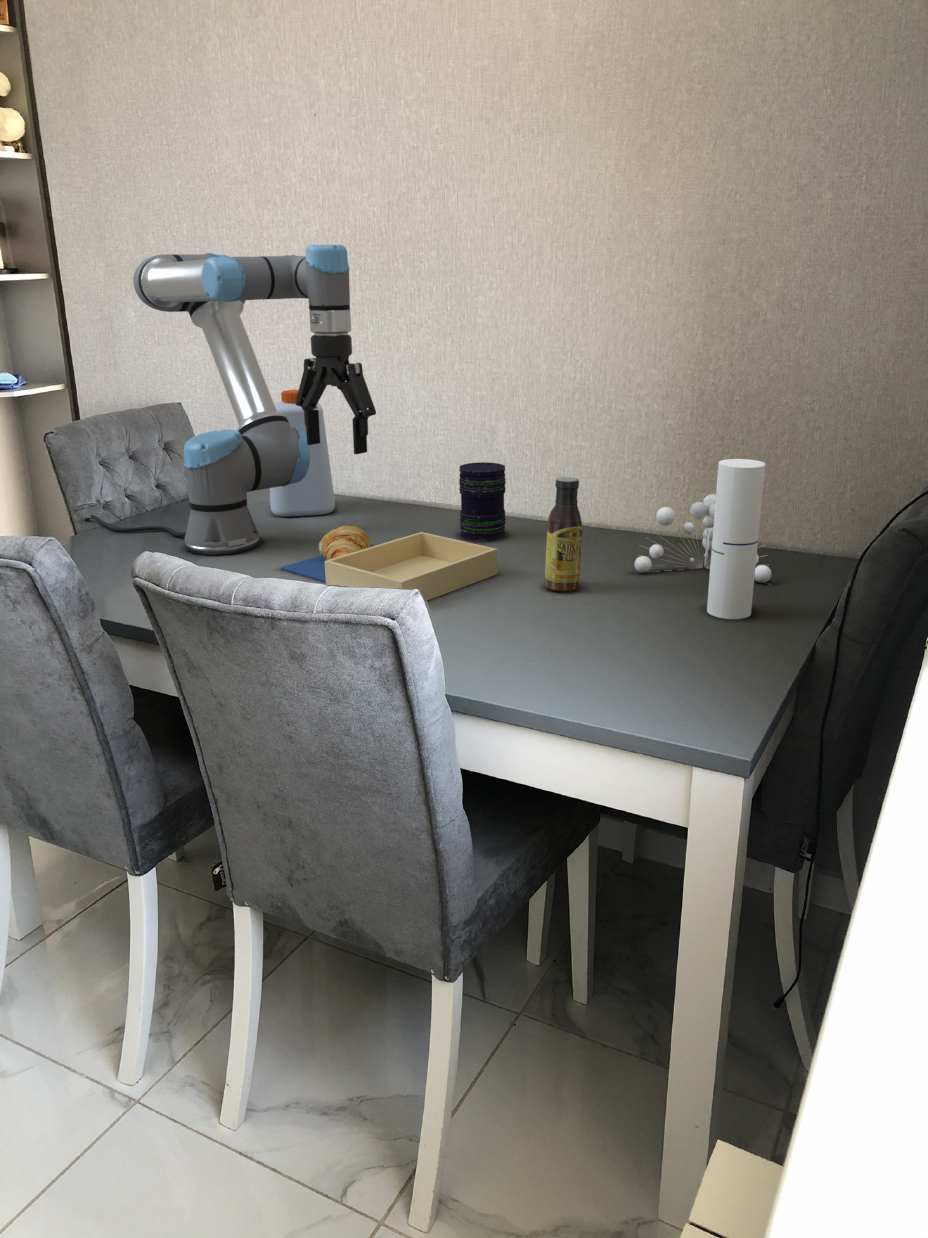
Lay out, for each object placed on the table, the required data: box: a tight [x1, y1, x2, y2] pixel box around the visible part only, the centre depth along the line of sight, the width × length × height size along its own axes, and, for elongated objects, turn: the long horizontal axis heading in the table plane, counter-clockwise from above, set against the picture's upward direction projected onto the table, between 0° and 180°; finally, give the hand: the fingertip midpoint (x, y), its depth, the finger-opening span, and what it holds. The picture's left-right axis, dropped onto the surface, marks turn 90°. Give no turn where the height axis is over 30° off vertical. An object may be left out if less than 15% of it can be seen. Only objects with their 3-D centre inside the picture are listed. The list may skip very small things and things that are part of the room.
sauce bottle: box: [544, 476, 584, 592], centre depth 171 cm, size 6×6×20 cm
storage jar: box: [458, 461, 507, 543], centre depth 206 cm, size 10×10×15 cm
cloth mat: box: [280, 544, 375, 583], centre depth 191 cm, size 14×22×1 cm, turn 139°
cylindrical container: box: [706, 458, 766, 620], centre depth 157 cm, size 7×7×25 cm
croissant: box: [318, 524, 372, 561], centre depth 190 cm, size 21×10×8 cm, turn 6°
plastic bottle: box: [269, 389, 336, 518], centre depth 228 cm, size 15×15×28 cm
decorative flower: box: [633, 493, 772, 585], centre depth 182 cm, size 25×22×14 cm
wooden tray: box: [325, 531, 498, 602], centre depth 179 cm, size 20×26×5 cm
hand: (336, 448), depth 186 cm, fingers open, 13 cm apart
